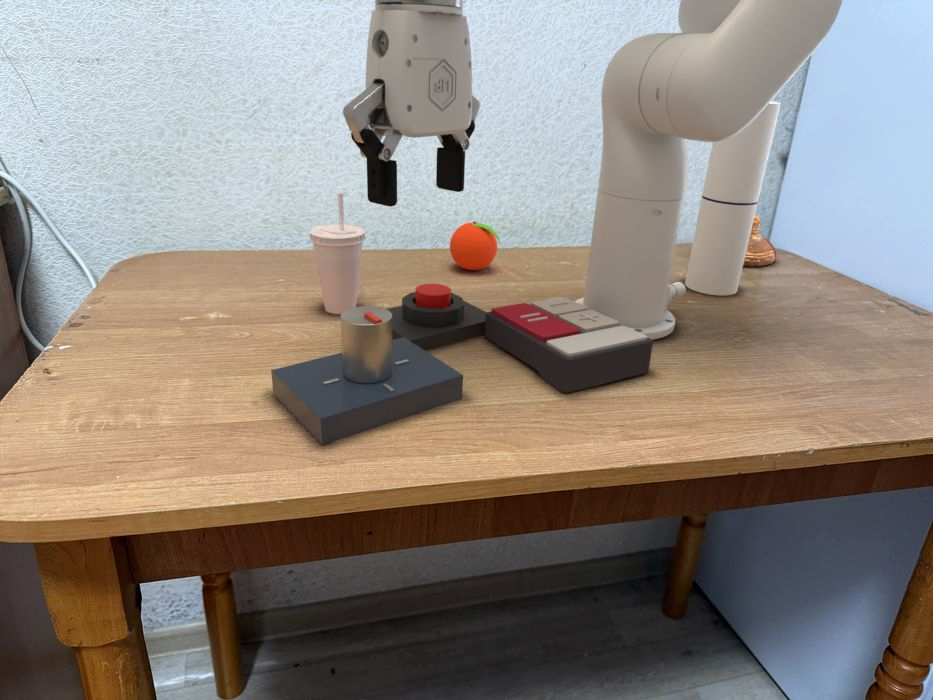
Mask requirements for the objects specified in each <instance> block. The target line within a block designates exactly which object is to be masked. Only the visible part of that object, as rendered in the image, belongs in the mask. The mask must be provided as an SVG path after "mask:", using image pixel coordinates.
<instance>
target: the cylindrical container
mask: <svg viewBox="0 0 933 700" xmlns="http://www.w3.org/2000/svg"><path fill="white" fill-rule="evenodd" d="M781 106H782V103H781V102H778V101H771V102H770V103H769V104H768V105H767V106H766V107H765V108H764V110H763V111H762V112H761V113H760V114H759V115H758V116H757V117H756V118H755V119H754V120H753V121H752V122H751V123H750V124H749V125H748V126H747V127H746V128H744V129H743V130H742V131H741V132H739V133H738V134H736V135H734V136H733V137H730V138H728V139H726V140H722V141H718V142H711V143H712V144H711V149H710V153H709V159H708V164H707V167H706V174H705V180H704V184H703V188H702V189H703V190H702V196H701V199H700V204H699V209H698V214H697V219H696V224H695V230H694V234H693V241H692V243H691V244H692V246H691V249H690V256H689V260H688V266H687V270H686V276H685V280H684V286H685V287H687V288H688V289H690V290H692V291H695V292H697V293H701V294H705V295H711V296H721V297H722V296H733V295H734V294H736V293H737V292H738V289H739V285H740V280H741V276H742V272H743V267H744V266H743V263H744V259H745V255H746V251H747V246H748V242H749V238H750V233H751V229H752V225H753V221H754V216H756V213H757V207H758V202H759V199H760V195H761V190H762V186H763V182H764V176H765V174H766V169H767V165H768V161H769V157H770V153H771V148H772V143H773V139H774V136H775V135H774V134H775V132H776V131H775V130H776V127H777V122H778V118H779V114H780V108H781Z"/></svg>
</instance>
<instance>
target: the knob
mask: <svg viewBox="0 0 933 700" xmlns="http://www.w3.org/2000/svg"><path fill="white" fill-rule="evenodd" d="M386 309H387V308H383V307H379V306H373V305H361V306H356V307H354V308H350V309H348V310H345V311H344V312H343V313H342V314H340V331H341V333H340V334H341V335H340V336H341V353H342V362H343V375H344V376H345V377H346V378H347V379H349V380H351V381H354V382H358V383H375V382H380V381H383V380H385V379H387V378H389V377H390V376H391V374H392V314H391V312H390V311H388V310H386Z"/></svg>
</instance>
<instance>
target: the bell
mask: <svg viewBox="0 0 933 700" xmlns="http://www.w3.org/2000/svg"><path fill="white" fill-rule="evenodd" d="M761 223H762V222H761V219H760V217H759V216H757V215H755V216H754V221H753V225H752V229H751V233H750V238H749V242H748V246H747V251H746V255H745V259H744V263H743V267H762V266H767V265H771V264H772V263H774V262H775V261H776V257H777V252H776V249H775V247H774V245H773V244H772V243H771V241H769V240H768V239H767V238H765V237H764V236H763V235H762V234H761V233H759V231H760V228H761V227H760V226H761Z"/></svg>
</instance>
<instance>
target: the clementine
mask: <svg viewBox="0 0 933 700" xmlns="http://www.w3.org/2000/svg"><path fill="white" fill-rule="evenodd" d="M498 243H499V246H502V245H501V240H500V237H499V236H498V234H497V233H496V231H495V230H494V229H493V228H492V227H490V226H489V225H486V224H484V223H481V222H476V221H473V222H472V221H471V222H466V223H464V224H462V225H461V226H459V227H458V228H457V229H456V230H455V231H454V232H453V234H452V236H451V237H450V242H449V251H450V254H451V257H452V260H453V261H454V262H455V263H456V265H458V266H459V267H460V268H462V269H464V270H467V271H473V272H474V271H479V270H480V271H481V270H483V269H485V268H487V267H488V266H490V265H491V263H493V262H494V260H495V257H496V255H497V252H498Z"/></svg>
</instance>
